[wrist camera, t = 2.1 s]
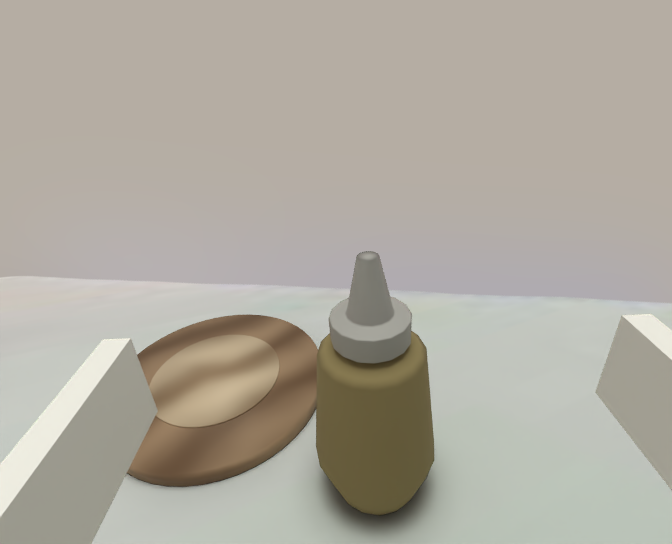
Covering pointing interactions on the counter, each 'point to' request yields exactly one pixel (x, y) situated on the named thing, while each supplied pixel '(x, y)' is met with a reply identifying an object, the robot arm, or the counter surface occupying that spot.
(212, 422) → the walnut board
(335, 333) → the squeeze bottle
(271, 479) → the counter surface
